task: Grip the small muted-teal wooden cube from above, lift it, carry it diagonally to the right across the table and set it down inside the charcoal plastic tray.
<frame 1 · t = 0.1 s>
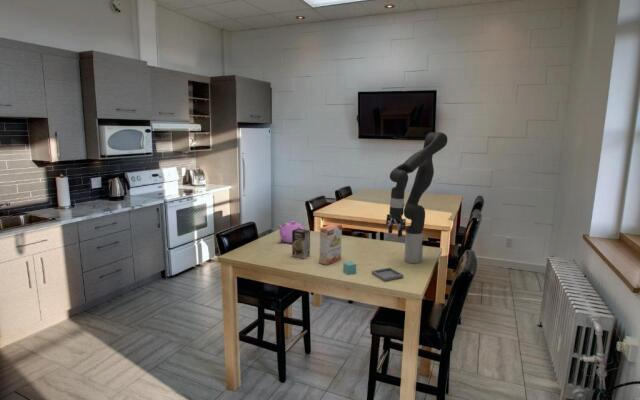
hand: (394, 234, 215), 17 cm above the table, tool pointing down, fingers open, 8 cm apart
teapot: (290, 241, 262), on the table
teal cube: (349, 272, 206), on the table
tray: (387, 276, 201), on the table
cracker box: (330, 261, 223), on the table
coffee box: (301, 256, 231), on the table
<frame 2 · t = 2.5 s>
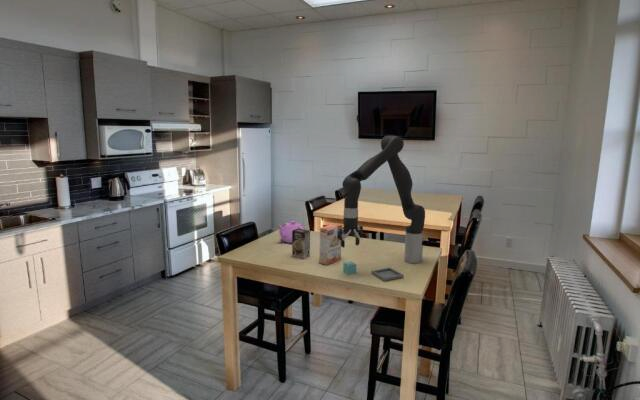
hand: (349, 246, 203), 14 cm above the table, tool pointing down, fingers open, 8 cm apart
nothing on the table moved.
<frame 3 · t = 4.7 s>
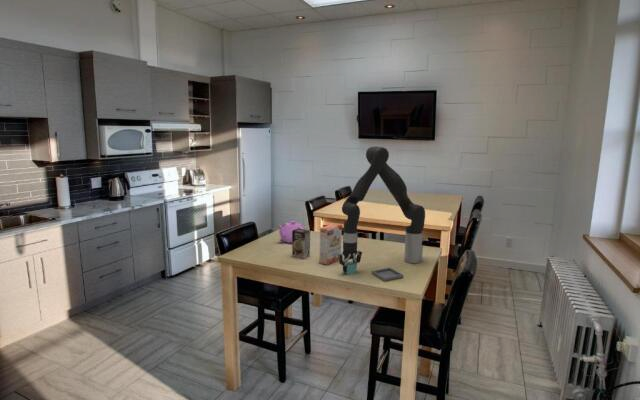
hand: (349, 271, 206), 1 cm above the table, tool pointing down, fingers closed on teal cube, 5 cm apart
teal cube: (349, 272, 206), on the table, touching gripper
everything else where it was.
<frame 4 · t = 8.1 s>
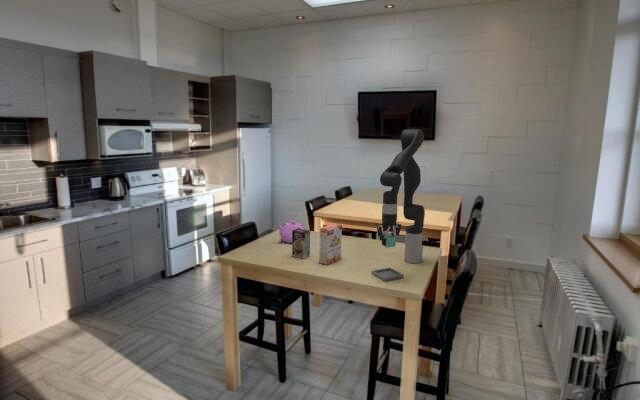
hand: (388, 244, 198), 17 cm above the table, tool pointing down, fingers closed on teal cube, 5 cm apart
teal cube: (388, 245, 198), point 16 cm above the table, touching gripper
everything else where it was.
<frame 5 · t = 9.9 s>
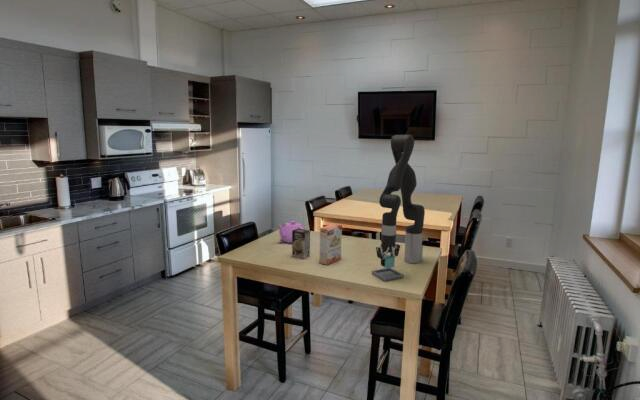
hand: (387, 264, 200), 6 cm above the table, tool pointing down, fingers closed on teal cube, 5 cm apart
teal cube: (387, 266, 200), point 5 cm above the table, touching gripper
everything else where it was.
when the fingers open (3 cm above the table, at t = 11.5 s): teal cube drops 2 cm, resting on tray.
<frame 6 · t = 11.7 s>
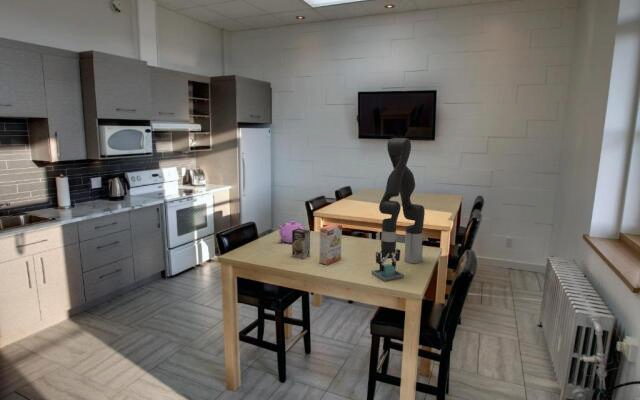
hand: (387, 270, 200), 3 cm above the table, tool pointing down, fingers open, 6 cm apart
teal cube: (387, 275, 201), resting on tray
everything else where it was.
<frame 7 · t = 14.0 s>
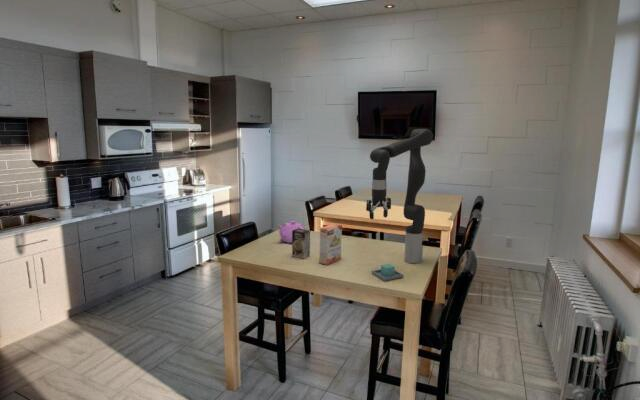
hand: (378, 218, 205), 29 cm above the table, tool pointing down, fingers open, 8 cm apart
nothing on the table moved.
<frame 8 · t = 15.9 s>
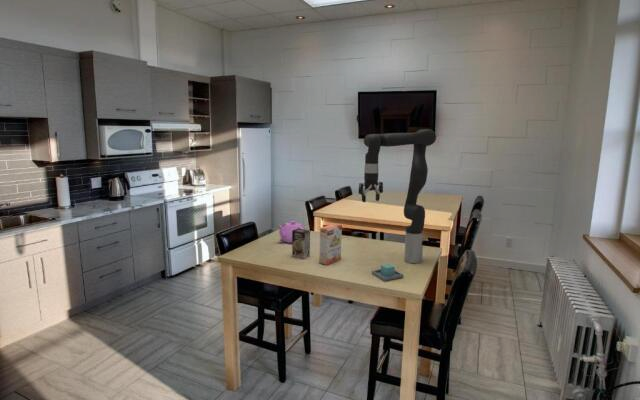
hand: (370, 201, 212), 36 cm above the table, tool pointing down, fingers open, 8 cm apart
nothing on the table moved.
at the end: teal cube 0.1 cm off-centre on the tray, point 0.5 cm above the tray's base; teal cube tilted 0°; the gripper is holding nothing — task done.
